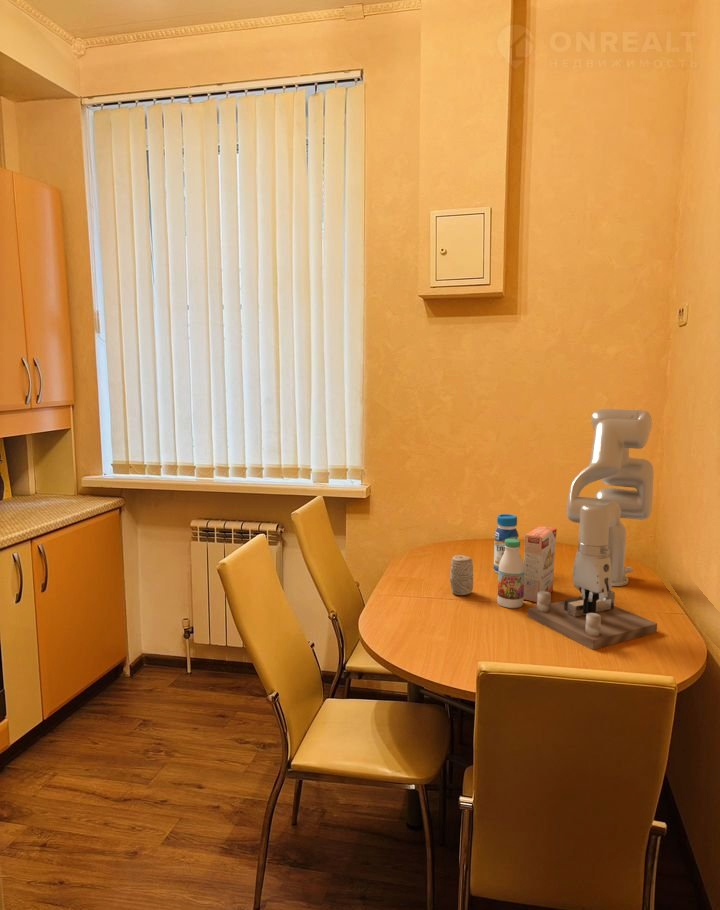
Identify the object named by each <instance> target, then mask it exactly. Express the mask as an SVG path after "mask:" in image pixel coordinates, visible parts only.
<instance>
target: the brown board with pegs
mask: <svg viewBox="0 0 720 910" xmlns="http://www.w3.org/2000/svg"><path fill="white" fill-rule="evenodd" d="M551 596H552V593H551V592H550V593H549V592H545V591H540V592H538V595H537V602H536V606H533V607H529V608H527V617H528V619H532V620H533V621H535V622H537V623H539V624H541V625H543V626H545V627H547V628H550V629H551V630H552V631H555V632H557V633H558V634H561V635H562V636H564V637H566V638H569V639H571V640H572V641H575V642H576V643H578V644H580V645H582V646H585V647H586V648H588V649H590V650H592V651H594V650H597V649H601V648H605V647H608V646H611V645H612V646H613V645H616V644H620V643H623V642H627V641H630V640H634V639H638V638H641V637H645V636H648V635H652V634H655V633H657V631H658V630H657V629H658V623H656V622H654V621H652V620H650V619H647V618H645V617H642V616H639V615H637V614H635V613H632V612H631V611H628V610H626V609H622V608H621V607H618V606H616V605H614V608H613V609H609V610H604V611H600V612H596V613H587V614H586V615H581V616H577V617H574V616H572V615H570V614H568V613H567V609H568V603H569V602H574V601H579V600H584V599H582V596H578V597H573V598H568V599H564V600H560V601H556V602H551V600H552V599H551V598H552V597H551Z"/></svg>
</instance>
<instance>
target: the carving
mask: <svg viewBox="0 0 720 910" xmlns="http://www.w3.org/2000/svg"><path fill="white" fill-rule="evenodd" d="M450 566H451V567H450V571H449V572H450V573H449V575H450V576H449V583H450V587H451V593H452V594H454V595H455V596H466V595H470V594H471V593H472V592H473V589H474V563H473V559H472V558H471V557H470V556H467V555H463V554H458V555H457V554H456V555H454V556H453V557H452V558H451V562H450Z"/></svg>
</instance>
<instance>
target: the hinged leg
mask: <svg viewBox="0 0 720 910" xmlns="http://www.w3.org/2000/svg"><path fill="white" fill-rule="evenodd" d="M607 594H608V597H607V598H604V599H602V598H599V600H597V601H596V612H600V611H604V610H609V609H613V608H614V606H615V596H616V595H615V594H616V592H615V591H613V590H611V591H607ZM583 602H584V600H579V601H574V602H569V603H568V609H567V613H568V614H570V615H572V616H574V617H577V616H581V615H586V614H584V613H583Z"/></svg>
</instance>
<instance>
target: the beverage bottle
mask: <svg viewBox="0 0 720 910" xmlns="http://www.w3.org/2000/svg"><path fill="white" fill-rule="evenodd" d="M496 520H497V521H496V523H497V526H498V527H497V528H496V530H495V532H494V536H495V537H494V540H493V547H494V548H493V549H494V550H493V571H494V572H495V573H496V574H498V571H499V563H500V560H501V558H502V557H503V554H504V552H505V547H504V546H505V540H506V539H517V540H519V538H520V537H519V532H518V530H517V528H516V527H517V525H518V517H517V516H516V515H514V514H508V513H504V514H503V513H501V514H498V515H497V519H496Z"/></svg>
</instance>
